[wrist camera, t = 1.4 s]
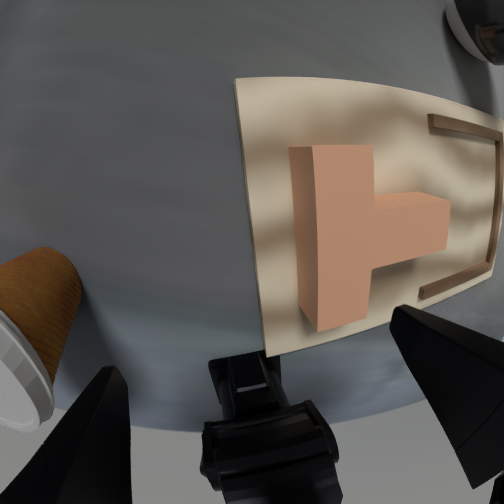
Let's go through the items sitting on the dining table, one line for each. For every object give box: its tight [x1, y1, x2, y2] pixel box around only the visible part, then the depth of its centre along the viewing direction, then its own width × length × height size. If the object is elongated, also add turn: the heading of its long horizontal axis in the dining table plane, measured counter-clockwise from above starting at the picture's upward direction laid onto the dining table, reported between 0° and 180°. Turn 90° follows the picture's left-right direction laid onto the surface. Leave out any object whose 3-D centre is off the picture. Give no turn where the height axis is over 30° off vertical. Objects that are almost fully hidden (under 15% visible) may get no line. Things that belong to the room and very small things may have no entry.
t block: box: [288, 145, 451, 333], centre depth 18 cm, size 12×12×4 cm
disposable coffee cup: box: [0, 247, 82, 433], centre depth 12 cm, size 10×10×12 cm
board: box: [233, 77, 504, 357], centre depth 22 cm, size 22×34×2 cm, turn 96°
